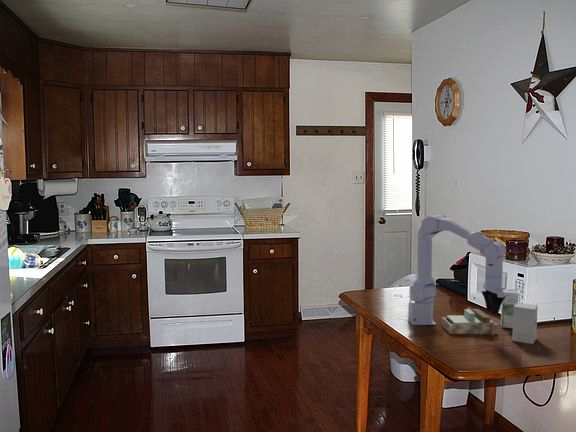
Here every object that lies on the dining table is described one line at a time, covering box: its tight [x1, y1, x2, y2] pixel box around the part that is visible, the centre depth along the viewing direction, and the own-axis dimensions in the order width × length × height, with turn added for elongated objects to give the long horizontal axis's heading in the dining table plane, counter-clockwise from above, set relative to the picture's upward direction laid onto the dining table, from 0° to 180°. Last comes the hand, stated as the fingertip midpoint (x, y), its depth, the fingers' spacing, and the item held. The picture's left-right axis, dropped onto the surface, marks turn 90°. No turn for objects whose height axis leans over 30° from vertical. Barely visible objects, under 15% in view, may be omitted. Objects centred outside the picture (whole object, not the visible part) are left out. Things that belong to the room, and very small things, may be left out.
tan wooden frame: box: [441, 316, 499, 336], centre depth 206 cm, size 18×13×5 cm
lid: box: [446, 308, 493, 325], centre depth 206 cm, size 14×10×4 cm, turn 90°
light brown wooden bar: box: [472, 308, 491, 323], centre depth 206 cm, size 2×12×2 cm, turn 0°
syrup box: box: [500, 288, 519, 330], centre depth 209 cm, size 6×6×14 cm
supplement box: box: [511, 302, 539, 345], centre depth 194 cm, size 7×7×13 cm
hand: (492, 312), depth 194 cm, fingers open, 4 cm apart
